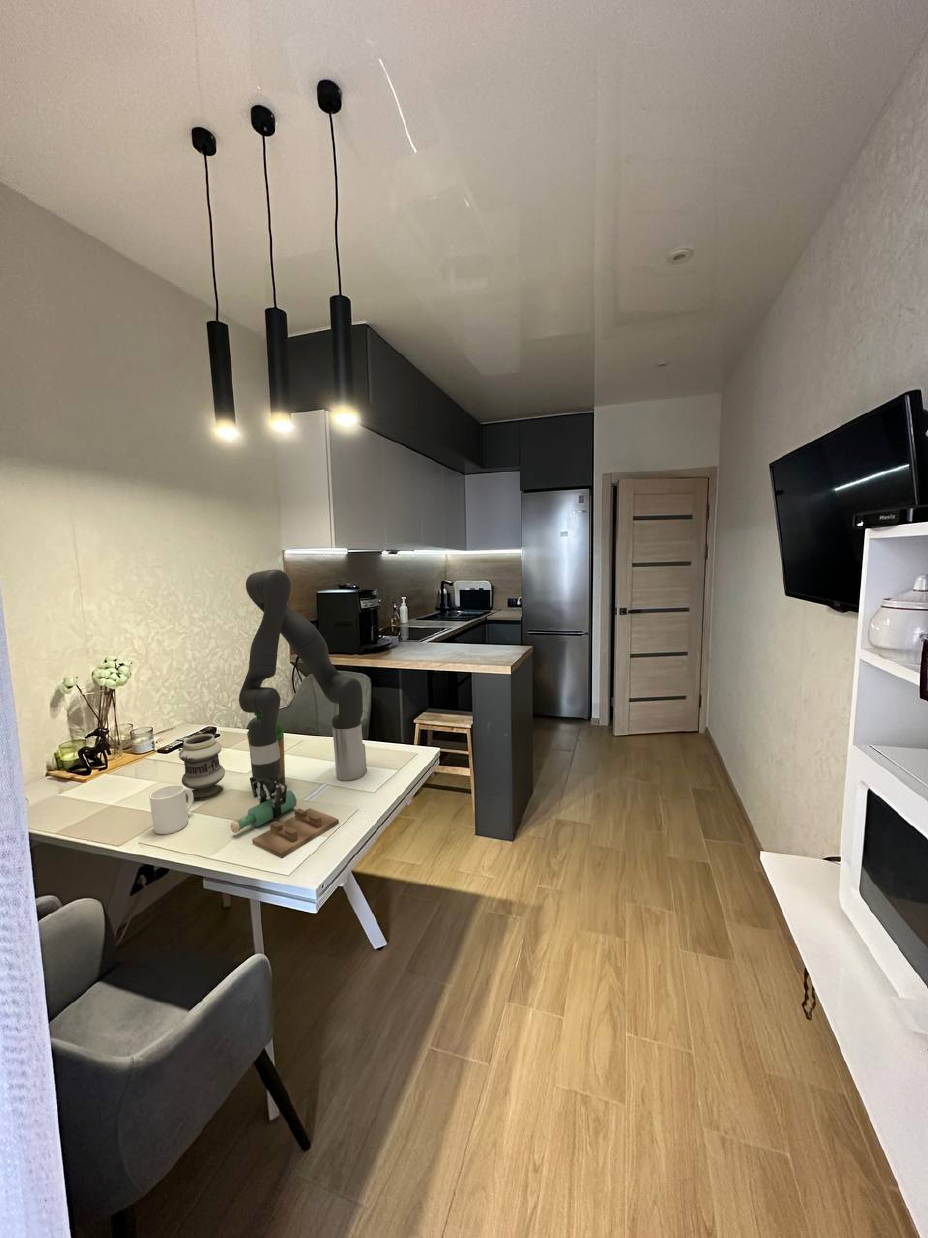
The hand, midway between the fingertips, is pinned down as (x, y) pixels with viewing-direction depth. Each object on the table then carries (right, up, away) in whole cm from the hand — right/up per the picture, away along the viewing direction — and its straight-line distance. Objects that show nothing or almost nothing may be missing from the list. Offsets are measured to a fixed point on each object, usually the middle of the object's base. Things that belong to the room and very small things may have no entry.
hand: (271, 815), depth 139 cm
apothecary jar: (-27, 0, +17) cm, 32 cm away
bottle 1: (-8, +1, +19) cm, 21 cm away
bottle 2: (-1, -1, -2) cm, 2 cm away
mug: (-26, -2, -1) cm, 26 cm away
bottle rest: (+10, -1, -8) cm, 13 cm away
